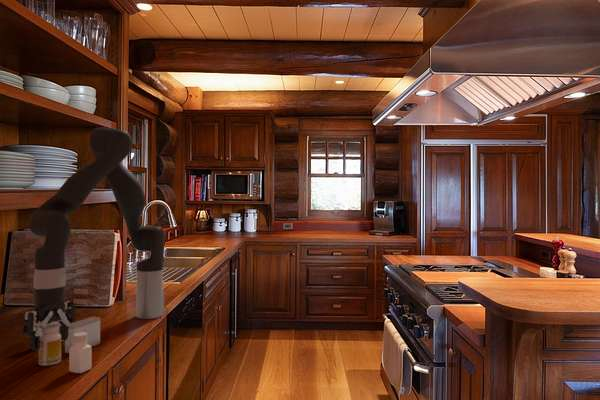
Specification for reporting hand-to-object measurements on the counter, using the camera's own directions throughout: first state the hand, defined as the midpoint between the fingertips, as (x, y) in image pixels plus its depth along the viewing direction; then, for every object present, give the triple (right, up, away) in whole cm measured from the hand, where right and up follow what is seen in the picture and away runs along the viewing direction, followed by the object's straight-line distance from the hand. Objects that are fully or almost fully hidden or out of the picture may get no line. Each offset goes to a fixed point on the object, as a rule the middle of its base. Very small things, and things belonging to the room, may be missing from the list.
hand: (49, 344), depth 122 cm
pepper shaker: (+11, -5, -5) cm, 13 cm away
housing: (-2, -5, +14) cm, 15 cm away
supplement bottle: (0, -5, 0) cm, 5 cm away
